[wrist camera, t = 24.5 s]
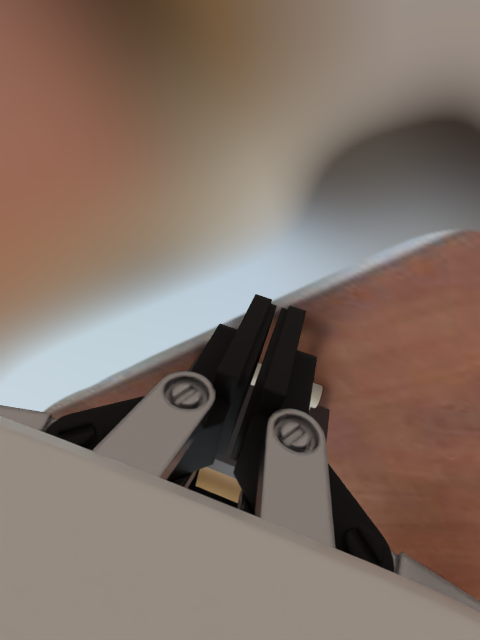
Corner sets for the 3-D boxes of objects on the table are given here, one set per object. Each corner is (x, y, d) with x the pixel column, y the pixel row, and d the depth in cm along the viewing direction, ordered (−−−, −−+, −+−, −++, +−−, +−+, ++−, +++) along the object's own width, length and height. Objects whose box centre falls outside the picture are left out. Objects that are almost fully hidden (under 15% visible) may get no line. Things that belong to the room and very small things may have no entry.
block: (223, 407, 30) (204, 451, 26) (276, 427, 29) (264, 475, 26) (214, 440, 33) (194, 486, 29) (262, 459, 32) (249, 508, 28)
